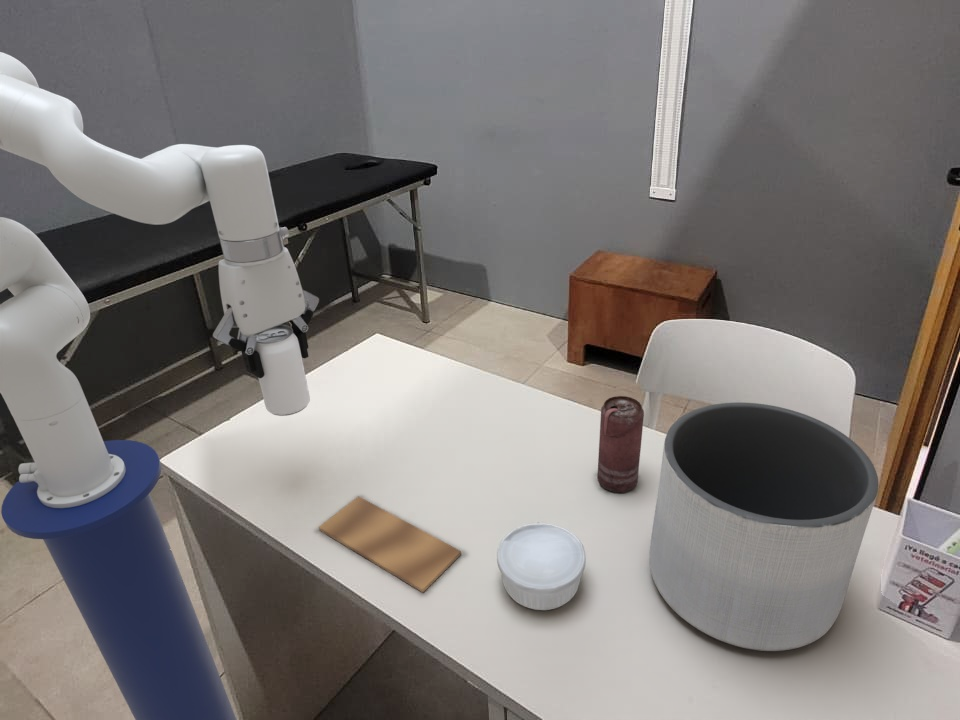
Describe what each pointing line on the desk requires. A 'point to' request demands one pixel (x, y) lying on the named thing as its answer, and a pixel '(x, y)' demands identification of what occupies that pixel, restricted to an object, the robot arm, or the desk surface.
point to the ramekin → (541, 565)
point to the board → (391, 543)
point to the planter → (759, 523)
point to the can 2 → (620, 443)
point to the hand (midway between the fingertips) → (279, 363)
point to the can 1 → (282, 371)
